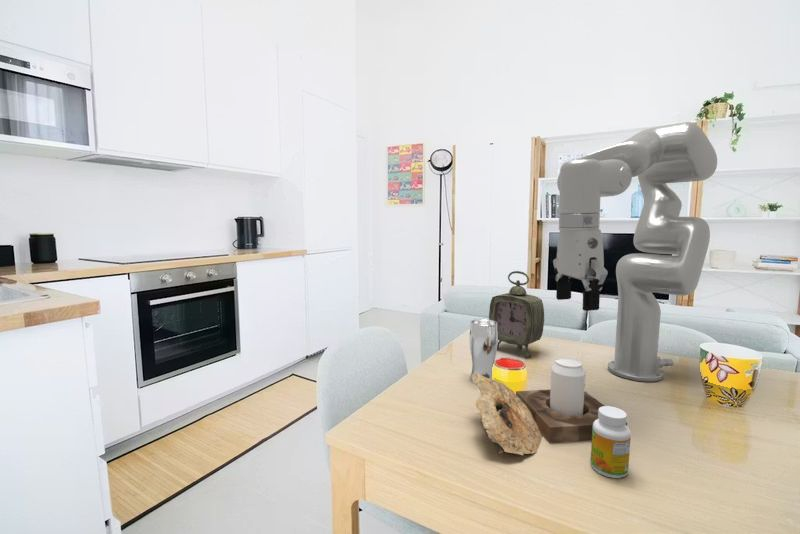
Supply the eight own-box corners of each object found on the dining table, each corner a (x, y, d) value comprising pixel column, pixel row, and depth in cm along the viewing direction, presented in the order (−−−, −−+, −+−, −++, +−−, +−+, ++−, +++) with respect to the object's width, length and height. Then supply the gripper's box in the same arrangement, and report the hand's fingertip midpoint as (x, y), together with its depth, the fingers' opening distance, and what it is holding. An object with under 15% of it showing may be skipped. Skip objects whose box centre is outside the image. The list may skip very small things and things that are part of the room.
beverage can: (566, 409, 82) (569, 355, 81) (589, 423, 76) (593, 365, 75) (542, 414, 80) (545, 358, 79) (564, 429, 74) (567, 369, 73)
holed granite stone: (545, 483, 68) (566, 455, 65) (471, 474, 66) (489, 444, 62) (512, 404, 84) (527, 378, 81) (451, 394, 81) (464, 367, 78)
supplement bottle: (583, 459, 65) (586, 404, 64) (613, 457, 65) (617, 403, 64) (602, 480, 59) (606, 421, 58) (635, 478, 60) (640, 419, 59)
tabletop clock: (488, 348, 121) (490, 270, 118) (503, 342, 127) (506, 267, 124) (530, 360, 111) (534, 274, 108) (545, 353, 117) (549, 272, 114)
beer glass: (494, 375, 100) (496, 319, 99) (498, 386, 93) (500, 326, 92) (467, 374, 101) (468, 318, 99) (469, 385, 94) (471, 325, 92)
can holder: (579, 400, 86) (580, 387, 86) (626, 437, 71) (627, 422, 71) (515, 404, 84) (516, 391, 84) (549, 443, 69) (550, 427, 69)
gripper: (625, 222, 70) (621, 313, 73) (571, 220, 87) (569, 294, 90) (587, 224, 69) (584, 316, 72) (540, 222, 86) (539, 296, 89)
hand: (576, 304), depth 81 cm, fingers open, 9 cm apart
